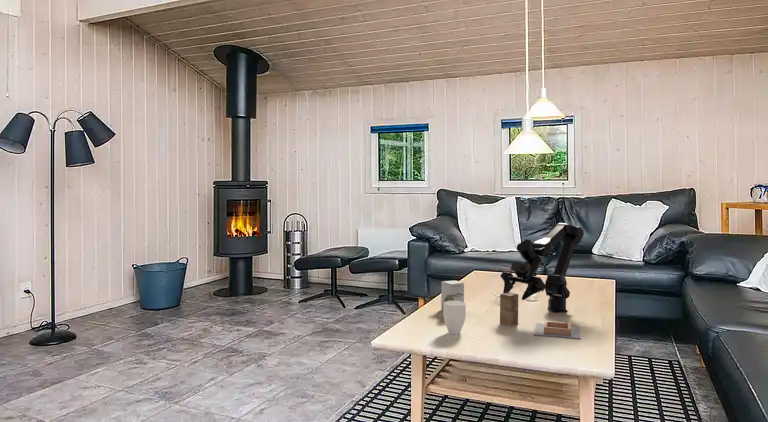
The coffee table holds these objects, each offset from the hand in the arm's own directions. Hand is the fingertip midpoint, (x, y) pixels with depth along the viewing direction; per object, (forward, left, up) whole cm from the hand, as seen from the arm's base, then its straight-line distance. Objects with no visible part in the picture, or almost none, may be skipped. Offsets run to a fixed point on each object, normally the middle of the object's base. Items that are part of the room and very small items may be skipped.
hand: (512, 297), depth 216 cm
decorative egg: (+23, -11, -10) cm, 28 cm away
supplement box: (+18, -24, -10) cm, 32 cm away
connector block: (+2, +1, -10) cm, 11 cm away
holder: (-12, +14, -10) cm, 21 cm away
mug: (+26, +8, -10) cm, 29 cm away
